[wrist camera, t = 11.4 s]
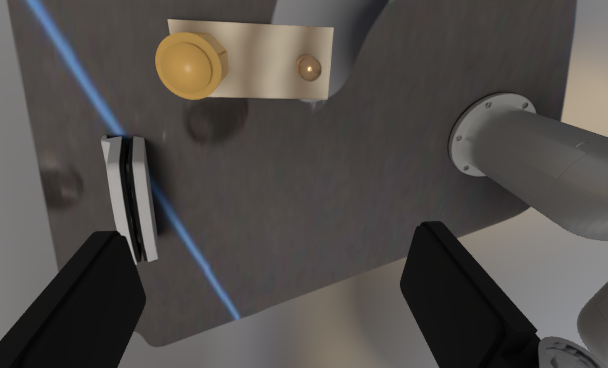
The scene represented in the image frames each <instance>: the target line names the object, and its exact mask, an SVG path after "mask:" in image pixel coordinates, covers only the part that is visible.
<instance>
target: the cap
mask: <svg viewBox="0 0 608 368" xmlns="http://www.w3.org/2000/svg"><path fill="white" fill-rule="evenodd" d="M225 51H226V49H225V48H224V47H223V46H222V45H221V44H220V43H219V42H218V41H217V40H216V39H215V38H214V37H213V36H212V35H211V34H209V33H200V32H179V33H174V34H171V35H169V36H168V37H166V38H165V39H164V40H163V41H162V42H161V43H160V45H159V47H158V49H157V52H156V58H155V62H156V68H157V72H158V74H159V77H160V79H161V80H162V82H163V83H164V84H165V86H166V87H167V88H168V89H169V90H170V91H172V92H173V93H175V94H176V95H178V96H180V97H183V98H186V99H192V100H195V99H202V98H205V97H207V96H209V95H210V94H212V93H213V92H214V91H215V89H216V88H217V87H218V85H219V84H220V82H221V81H222V80H223V79H224V78H225V77H226V76H227V74H228V72H229V70H228V58H227V52H225Z"/></svg>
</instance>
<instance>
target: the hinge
mask: <svg viewBox="0 0 608 368" xmlns="http://www.w3.org/2000/svg"><path fill="white" fill-rule="evenodd" d="M101 143H102V148H103V153H104V158H105V162H106V167H107V175H108V182H109V189H110V195H111V201H112V207H113V213H114V218H115V223H116V228H117V231H118V232H119V233H120V234H121V235H123V236H125V237H126V238H127V241H128V244H129V247H130V250H131V253H132V256H133V259H134V262H135V264H138V262H141V256H142V253H143V257H144V261H147V260H148V262H151V261H153V260H156V259H158V236H157V228H156V221H155V214H154V206H153V199H152V192H151V185H150V177H149V170H148V163H147V155H146V148H145V141H144V138H143V137H137V136H134V137H133V139H130V147H129V155H128V149H127V143H126V139H122V136H120V137H114V138H109V139H107V135H104V136H102V139H101ZM130 183H131V190H132V197H133V202H132V198H131V193H130V187H129V184H130Z"/></svg>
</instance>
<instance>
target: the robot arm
mask: <svg viewBox="0 0 608 368" xmlns="http://www.w3.org/2000/svg"><path fill="white" fill-rule="evenodd" d="M448 147H449V156H450V159H451V161H452V163H453V164H454V165H455V166H456V168H457V169H459V170H460V171H461V172H463V173H465V174H467V175H471V176H488V177H489V178H491V179H492V180H494V181H495V182H497V183H498V184H499V185H501V186H502V187H504V188H505V189H507V190H508V191H510V192H511V193H513V194H514V195H515V196H517V197H518V198H520V199H521V200H523V201H524V202H526V203H527V204H528V205H530V206H531V207H533V208H534V209H536V210H537V211H539V212H540V213H542V214H543V215H545V216H546V217H548V218H549V219H550V220H552V221H553V222H555V223H556V224H558V225H559V226H561V227H562V228H564V229H565V230H567V231H569V232H571V233H573V234H576V235H578V236H581V237H585V238H589V239H594V240H601V241H608V137H605V136H602V135H599V134H596V133H593V132H590V131H587V130H584V129H581V128H578V127H575V126H572V125H569V124H566V123H563V122H560V121H557V120H554V119H551V118H547V117H544V116H541V115H538V114H536V111H535V108H534V106H533V105H532V103H531V102H530V101H529V100H528V99H527V98H525V97H523V96H521V95H518V94H514V93H497V94H493V95H490V96H487V97H485V98H483V99H481V100H479V101H478V102H476V103H475V104H474V105H472V106H471V107H470V108H469V109H468V110H467V111H466V112H465V113H464V114H463V115H462V116H461V117H460V119H459V120H458V121H457V123H456V125H455V126H454V128H453V130H452V133H451V136H450V139H449V145H448ZM400 288H401V291H402V294H403V296H404V298H405V299H406V301H407V304H408V306H409V308H410V310H411V312H412V313H413V316H414V318H415V320H416V322H417V324H418V326H419V328H420V330H421V332H422V334H423V336H424V338H425V340H426V342H427V344H428V346H429V348H430V350H431V352H432V354H433V356H434V358H435V360H436V362H437V364H438V366H439V368H608V282H607V283H606V284H605V285H604V286H603V287H602V288H601V289H600V290H599V291H598V292H597V293H596V294H595V295H594V296H593V297H592V298H591V299H590V300H589V301H588V302H587V303H586V305H585V306H584V307H583V308H582V310H581V311H580V313H579V316H578V319H577V329H578V333H579V335H580V337H581V339H582V341H583V343H584V344H585V346H586V347H587V349H588V350H589V351H590V352H591V353H590V352H589V351H588V350H586V349H585V348H583V347H581V346H579V345H578V344H576V343H574V342H572V341H569V340H566V339H563V338H560V337H545V338H543V339H542V340H540V338H539V337H538V336H537V335H536V334H535V333H536V332H537V329H536V328H535V327H534V326H533V325H532V323H531V322H530V321H529V320H528V319H527V318H526V317H525V316H524V315H523V313H522V312H521V311H520V310H519V309H518V308H517V307H516V305H515V304H514V303H513V302H512V301H511V300H510V299H509V297H508V296H507V295H506V294H505V293H504V292H503V291H502V290H501V288H500V287H499V286H498V285H497V284H496V283H495V281H494V280H493V279H492V278H491V277H490V276H489V275H488V274H487V273H486V271H485V270H484V269H483V268H482V267H481V266H480V265H479V263H478V262H477V261H476V260H475V259H474V258H473V257H472V255H471V254H470V253H469V252H468V251H467V250H466V249H465V248H464V247H463V245H462V244H461V243H460V242H459V241H458V240H457V238H456V237H455V236H454V235H453V234H452V233H451V232H450V230H449V229H448V228H447V227H446V226H445V225H444V224H443V223H442V222H440V221H429V222H422V223H421V225H420V226H417V227H416V230H415V233H414V236H413V240H412V243H411V246H410V250H409V253H408V257H407V260H406V264H405V267H404V270H403V274H402V277H401V281H400ZM145 302H146V295H145V292H144V289H143V286H142V283H141V280H140V277H139V274H138V271H137V268H136V265H135V262H134V259H133V256H132V253H131V250H130V247H129V244H128V241H127V238H126V237H125V236H123V235H121V234H120V233H119V232H118V231H96V232H94V233H93V234H91V236H90V237H89V238H88V239H87V240H86V241H85V243H84V244H83V245H82V246H81V247H80V248H79V250H78V251H77V252H76V253H75V254H74V255H73V257H72V258H71V259H70V260H69V261H68V262H67V264H66V265H65V266H64V267H63V268H62V269H61V271H60V272H59V273H58V274H57V276H56V277H55V278H54V279H53V280H52V281H51V282H50V284H49V285H48V286H47V287H46V288H45V289H44V290H43V292H42V293H41V294H40V295H39V296H38V297H37V299H36V300H35V301H34V302H33V303H32V304H31V306H30V307H29V308H28V309H27V310H26V311H25V313H24V314H23V315H22V316H21V317H20V319H19V320H18V321H17V322H16V323H15V325H14V326H13V327H12V328H11V329H10V330H9V331H8V332H7V334H6V335H5V336H4V337H3V338H2V339H1V341H0V368H117V367H118V365H119V363H120V360H121V358H122V355H123V354H124V351H125V349H126V347H127V345H128V343H129V340H130V338H131V336H132V334H133V331H134V329H135V327H136V325H137V322H138V320H139V318H140V316H141V313H142V311H143V309H144V306H145Z"/></svg>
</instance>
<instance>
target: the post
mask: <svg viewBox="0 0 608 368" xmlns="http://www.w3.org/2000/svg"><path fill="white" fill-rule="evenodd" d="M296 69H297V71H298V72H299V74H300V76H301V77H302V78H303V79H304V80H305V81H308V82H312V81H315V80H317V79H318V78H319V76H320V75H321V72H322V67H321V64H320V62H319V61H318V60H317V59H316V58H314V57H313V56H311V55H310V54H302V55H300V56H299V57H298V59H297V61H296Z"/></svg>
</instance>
